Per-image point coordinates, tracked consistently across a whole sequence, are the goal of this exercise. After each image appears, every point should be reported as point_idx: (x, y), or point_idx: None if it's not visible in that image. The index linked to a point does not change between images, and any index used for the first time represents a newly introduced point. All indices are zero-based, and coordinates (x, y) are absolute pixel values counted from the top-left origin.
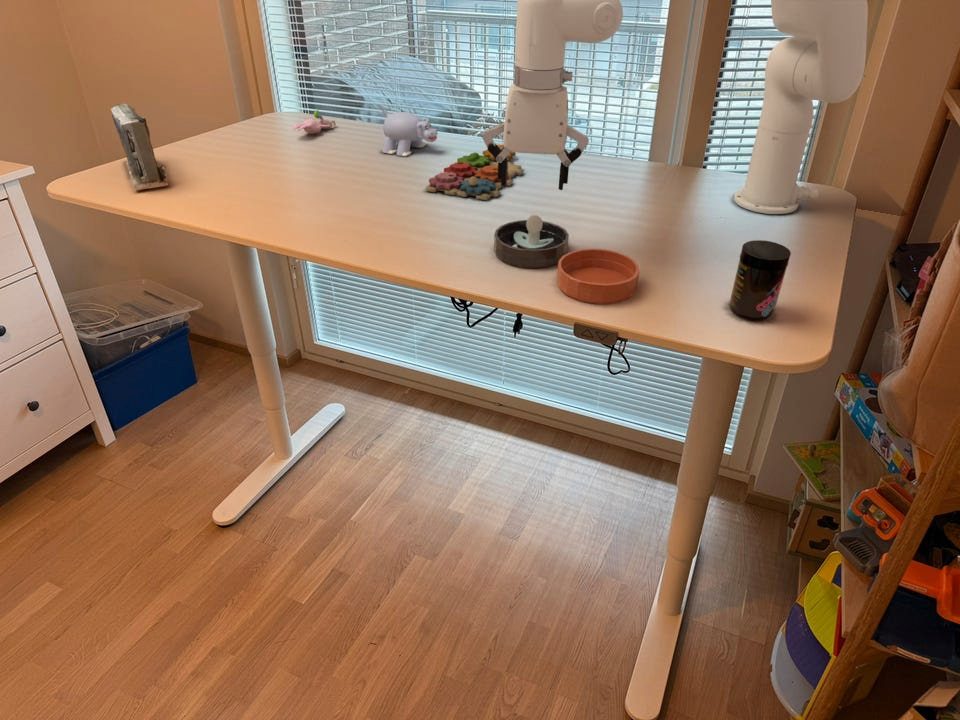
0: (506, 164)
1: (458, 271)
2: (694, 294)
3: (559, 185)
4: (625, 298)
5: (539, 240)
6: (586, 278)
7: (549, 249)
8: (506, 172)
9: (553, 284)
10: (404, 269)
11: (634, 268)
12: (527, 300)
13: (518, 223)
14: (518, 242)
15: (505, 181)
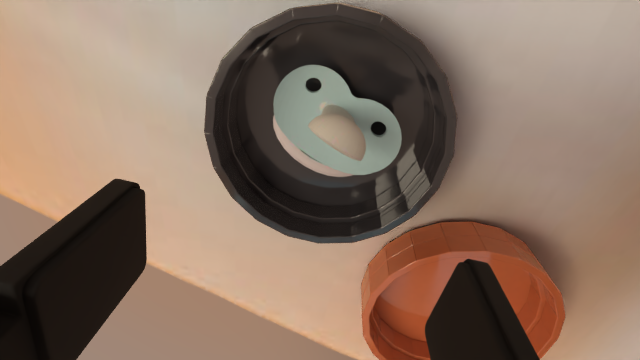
0: (61, 351)
1: (147, 200)
2: (633, 339)
3: (431, 348)
4: None
5: (362, 100)
6: (433, 274)
7: (362, 239)
8: (104, 281)
9: (355, 274)
10: (22, 178)
11: (547, 324)
12: (294, 315)
13: (293, 20)
14: (289, 128)
15: (132, 281)
